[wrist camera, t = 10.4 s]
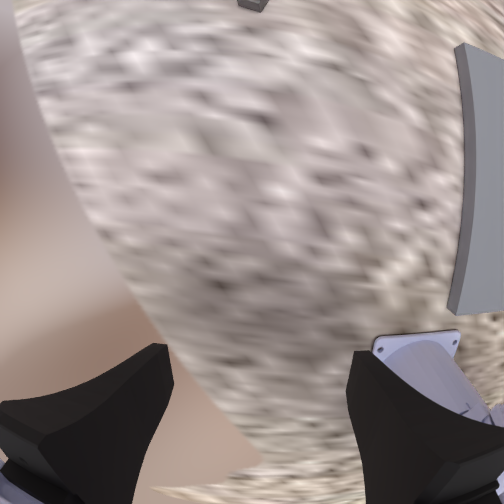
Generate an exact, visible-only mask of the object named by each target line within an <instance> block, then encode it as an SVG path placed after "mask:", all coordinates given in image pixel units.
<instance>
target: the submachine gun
mask: <svg viewBox="0 0 504 504" xmlns="http://www.w3.org/2000/svg"><path fill="white" fill-rule="evenodd" d="M268 1H269V0H237V2H238V5H239V6H242V7H245V8H248V9H252V10H255V11H258V12H261V11H262V10H263V8H264V7H265V5H266V4H267V2H268Z"/></svg>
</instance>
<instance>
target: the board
mask: <svg viewBox="0 0 504 504" xmlns="http://www.w3.org/2000/svg"><path fill="white" fill-rule="evenodd" d="M454 49H455V54H456V60H457V66H458V72H459V79H460V87H461V96H462V106H463V119H464V140H465V176H464V197H463V211H462V222H461V231H460V239H459V246H458V253H457V259H456V265H455V271H454V276H453V281H452V286H451V291H450V296H449V300H448V304H447V308H448V309H449V310H450V311H451V312H452V313H453V314H454V315H455V316H459V315H469V314H479V313H488V312H496V311H504V60H503V59H501V58H499V57H497V56H495V55H493V54H490V53H488V52H486V51H484V50H481V49H479V48H477V47H474V46H472V45H469V44H467V43H462V44H461V45H459V46H457V47H456V48H454Z"/></svg>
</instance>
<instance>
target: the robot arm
mask: <svg viewBox="0 0 504 504" xmlns="http://www.w3.org/2000/svg"><path fill="white" fill-rule="evenodd" d="M460 337H461V333H460V332H459V331H458V330H452V331H442V332H432V333H421V334H409V335H394V336H381V337H378V338H377V339H376V340H375V342H374V347H373V351H372V352H370V351H369V350H367V351H354V355H353V360H352V365H351V370H350V374H349V379H348V383H347V388H346V396H347V404H348V411H349V415H350V419H351V422H352V426H353V430H354V433H355V437H356V441H357V444H358V448H359V452H360V455H361V460H362V466H363V474H364V483H365V495H366V504H504V404H502V405H501V404H496V405H495V406H494V407H493V408H492V409H491V410H490V409H489V407H488V406H487V404H486V403H485V401H484V400H483V399H482V397H481V396H480V394H479V393H478V392H477V390H476V389H475V388H474V386H473V385H472V383H471V382H470V381H469V379H468V378H467V377H466V375H465V374H464V373H463V371H462V370H461V369H460V368H459V366H458V365H457V364H456V362H455V361H454V360H453V358H454V355H455V352H456V349H457V346H458V343H459V340H460ZM454 340H455V341H454ZM453 341H454V342H453ZM380 347H382V349H380V350H378V348H380ZM173 386H174V380H173V375H172V369H171V364H170V358H169V352H168V346H167V345H166V344H157V343H152V344H151V345H149V346H147V347H146V348H144V349H142V350H141V351H139V352H138V353H136V354H135V355H133V356H132V357H130V358H129V359H127V360H125V361H124V362H122V363H120V364H119V365H117V366H116V367H114V368H112V369H110V370H109V371H107V372H105V373H103V374H101V375H100V376H98V377H96V378H94V379H91V380H89V381H87V382H85V383H82V384H80V385H78V386H75V387H72V388H69V389H67V390H63V391H60V392H57V393H54V394H50V395H46V396H41V397H35V398H30V399H21V400H9V401H2V402H1V403H0V448H1V449H2V451H3V452H4V453H5V455H6V456H7V457H8V458H9V459H8V460H7V462H6V463H4V462H3V461H2V460H1V459H0V504H132V501H133V496H134V492H135V488H136V484H137V480H138V476H139V473H140V469H141V466H142V463H143V460H144V456H145V454H146V451H147V449H148V446H149V444H150V442H151V440H152V437H153V435H154V433H155V431H156V429H157V427H158V425H159V423H160V421H161V419H162V416H163V414H164V412H165V410H166V408H167V406H168V403H169V400H170V397H171V393H172V390H173Z"/></svg>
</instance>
